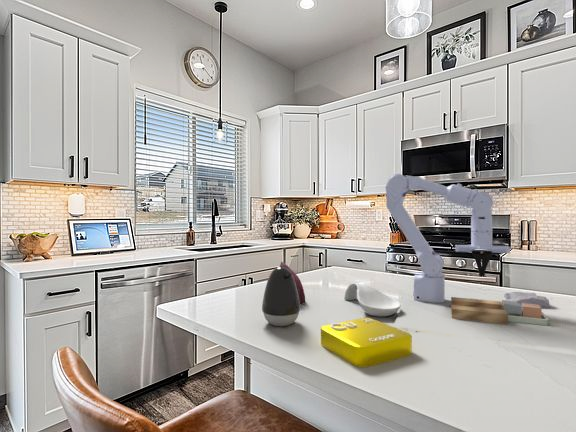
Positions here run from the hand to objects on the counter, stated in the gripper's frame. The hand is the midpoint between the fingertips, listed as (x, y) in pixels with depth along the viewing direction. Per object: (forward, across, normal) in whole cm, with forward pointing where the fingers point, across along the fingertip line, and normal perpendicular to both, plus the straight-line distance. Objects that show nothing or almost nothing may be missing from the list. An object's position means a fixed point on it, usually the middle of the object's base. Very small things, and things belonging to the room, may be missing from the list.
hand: (481, 275), depth 107 cm
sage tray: (+10, +9, -11) cm, 18 cm away
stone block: (+10, +12, +8) cm, 18 cm away
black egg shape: (+10, -50, -39) cm, 64 cm away
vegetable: (+10, -57, -18) cm, 60 cm away
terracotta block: (+9, +11, -11) cm, 18 cm away
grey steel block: (+9, +6, -11) cm, 16 cm away
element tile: (+10, -25, -46) cm, 54 cm away
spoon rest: (+10, -32, -15) cm, 36 cm away
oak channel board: (+10, -2, -11) cm, 15 cm away
